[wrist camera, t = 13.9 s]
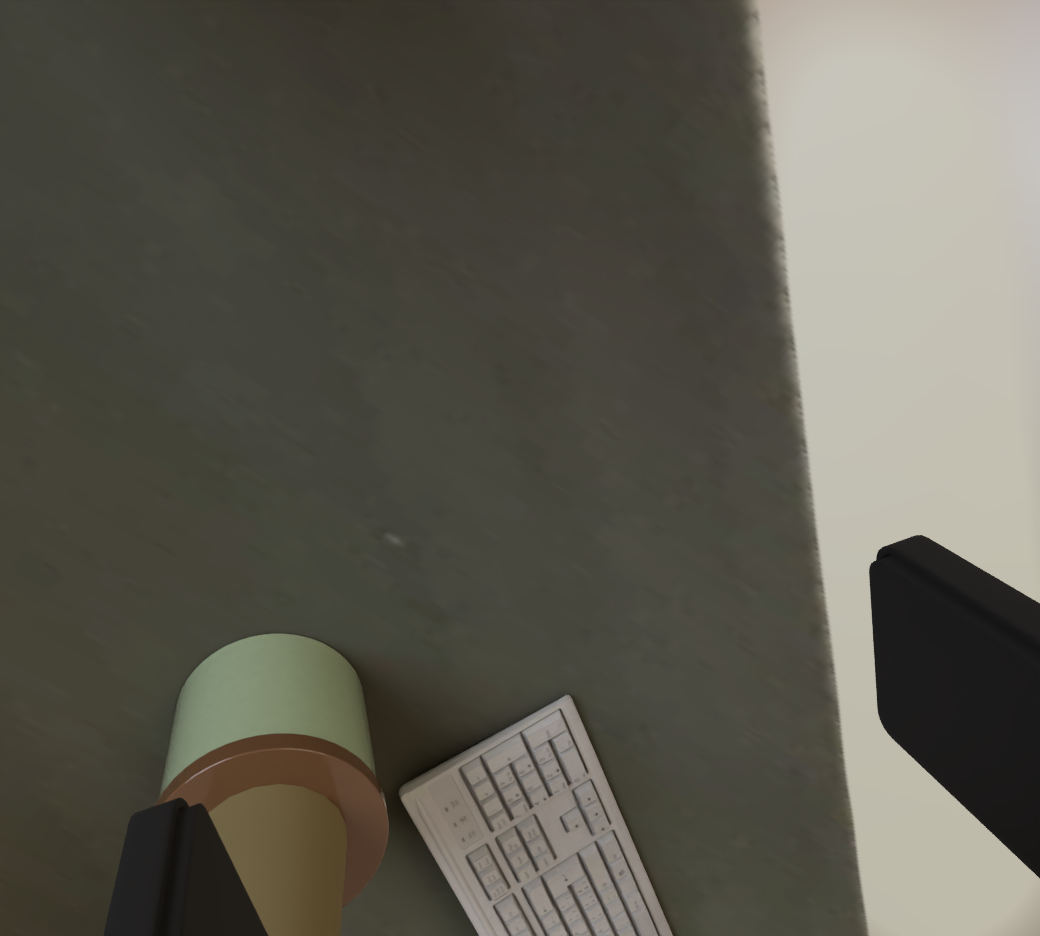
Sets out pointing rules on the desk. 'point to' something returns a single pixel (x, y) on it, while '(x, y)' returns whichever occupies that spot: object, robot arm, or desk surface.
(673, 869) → the desk surface
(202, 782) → the canister
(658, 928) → the keyboard
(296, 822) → the brown tapered tall piece
